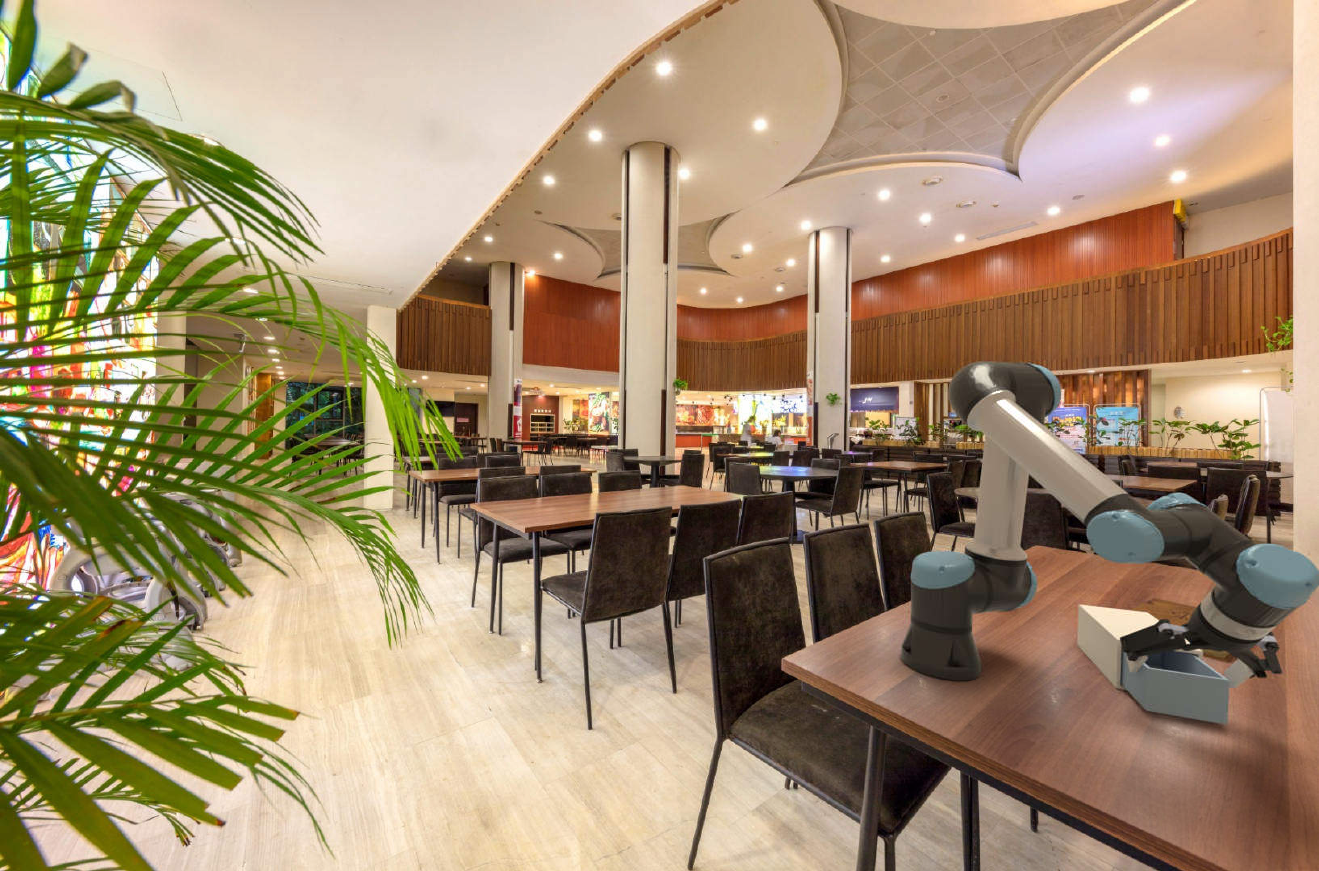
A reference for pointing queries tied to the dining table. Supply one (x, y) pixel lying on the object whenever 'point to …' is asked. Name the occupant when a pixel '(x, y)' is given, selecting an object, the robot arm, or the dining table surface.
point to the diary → (1177, 620)
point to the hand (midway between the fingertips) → (1178, 672)
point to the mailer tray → (1178, 686)
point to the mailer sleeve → (1111, 636)
